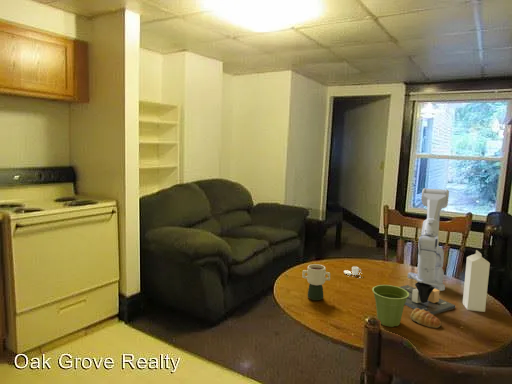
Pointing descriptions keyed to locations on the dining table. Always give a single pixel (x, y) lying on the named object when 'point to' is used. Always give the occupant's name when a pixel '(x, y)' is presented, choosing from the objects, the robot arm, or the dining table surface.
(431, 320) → the pastry
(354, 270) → the teacup and saucer
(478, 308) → the milk
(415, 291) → the fader
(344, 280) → the dining table surface
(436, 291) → the block
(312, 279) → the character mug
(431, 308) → the console
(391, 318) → the plant pot
